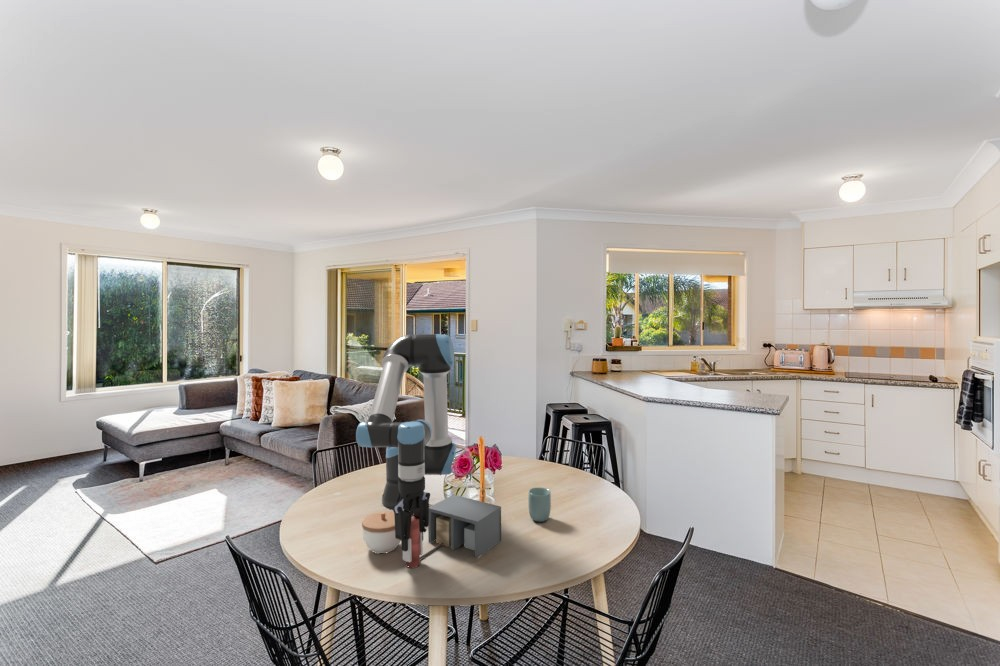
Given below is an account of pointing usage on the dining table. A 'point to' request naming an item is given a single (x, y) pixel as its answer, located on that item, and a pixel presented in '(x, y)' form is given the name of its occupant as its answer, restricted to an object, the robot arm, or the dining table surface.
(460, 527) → the cubby
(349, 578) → the dining table surface
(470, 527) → the block
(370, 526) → the white lidded jar
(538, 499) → the cup
